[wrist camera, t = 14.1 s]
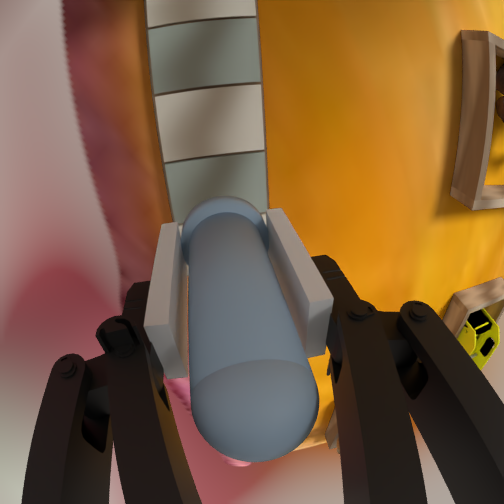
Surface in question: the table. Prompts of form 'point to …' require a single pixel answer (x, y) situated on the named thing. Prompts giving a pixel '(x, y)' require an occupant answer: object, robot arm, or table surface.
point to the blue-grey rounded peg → (242, 338)
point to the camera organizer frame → (475, 304)
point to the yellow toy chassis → (479, 337)
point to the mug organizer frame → (477, 121)
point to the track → (208, 101)
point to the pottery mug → (503, 87)
